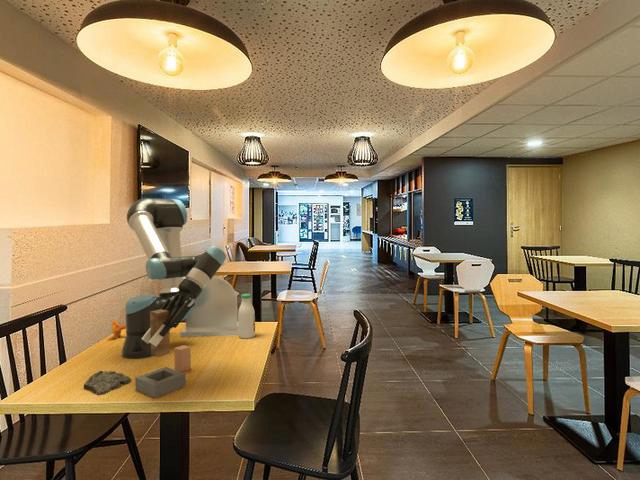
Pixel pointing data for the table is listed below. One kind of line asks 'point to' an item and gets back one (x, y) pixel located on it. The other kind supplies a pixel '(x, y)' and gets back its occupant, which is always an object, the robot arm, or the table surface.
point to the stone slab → (106, 382)
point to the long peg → (155, 324)
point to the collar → (160, 382)
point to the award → (213, 311)
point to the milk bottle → (246, 317)
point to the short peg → (182, 358)
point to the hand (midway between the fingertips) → (148, 342)
